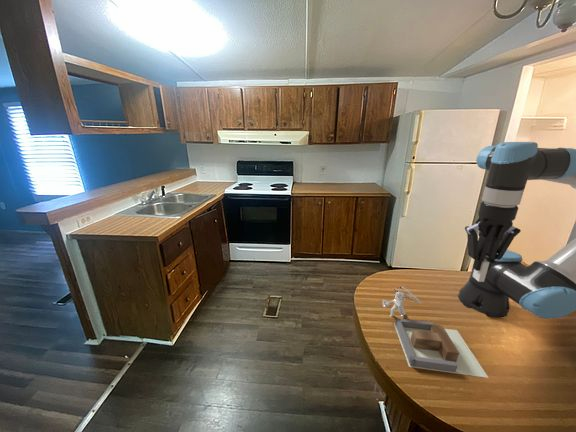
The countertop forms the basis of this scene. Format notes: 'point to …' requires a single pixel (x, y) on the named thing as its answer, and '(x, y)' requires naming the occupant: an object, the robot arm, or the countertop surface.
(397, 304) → the figurine
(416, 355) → the board
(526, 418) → the countertop surface
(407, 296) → the silver tweezers
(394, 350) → the countertop surface
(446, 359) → the t block
